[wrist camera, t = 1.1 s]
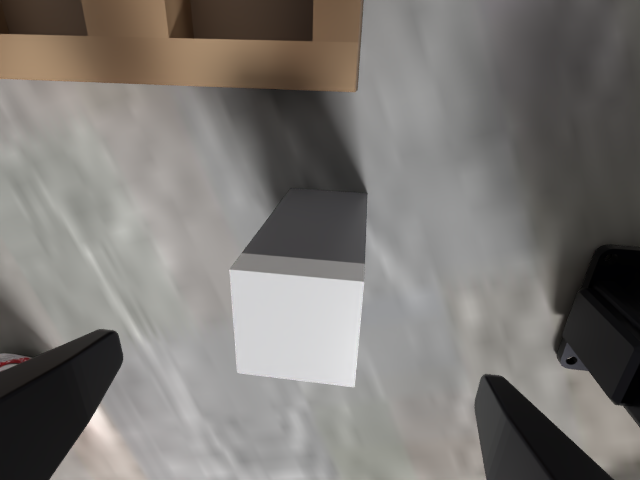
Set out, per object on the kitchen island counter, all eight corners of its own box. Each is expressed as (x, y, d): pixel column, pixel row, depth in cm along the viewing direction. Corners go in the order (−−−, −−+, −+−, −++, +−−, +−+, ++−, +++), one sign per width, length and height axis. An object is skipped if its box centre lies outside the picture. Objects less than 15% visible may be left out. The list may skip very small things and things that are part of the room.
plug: (367, 193, 16) (363, 281, 9) (361, 262, 18) (354, 387, 11) (290, 187, 17) (229, 269, 10) (290, 256, 18) (237, 373, 11)
